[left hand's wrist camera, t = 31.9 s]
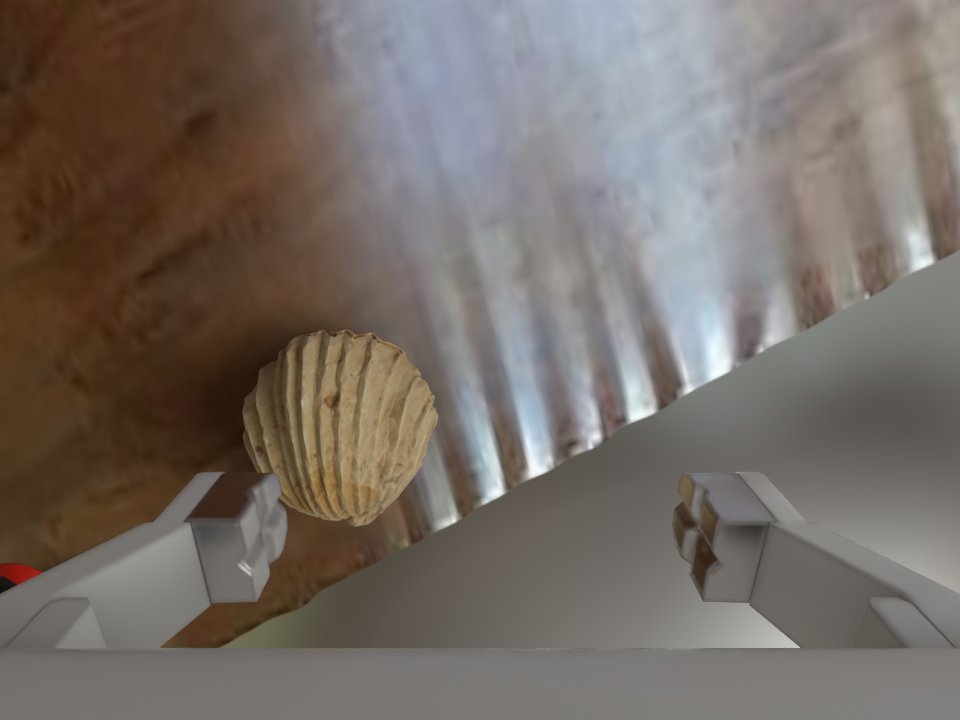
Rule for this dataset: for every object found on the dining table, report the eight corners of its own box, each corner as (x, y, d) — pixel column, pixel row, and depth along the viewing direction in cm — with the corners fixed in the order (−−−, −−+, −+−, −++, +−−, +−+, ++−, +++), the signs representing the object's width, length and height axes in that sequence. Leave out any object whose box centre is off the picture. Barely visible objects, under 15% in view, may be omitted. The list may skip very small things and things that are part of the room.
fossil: (303, 479, 52) (238, 597, 38) (257, 314, 46) (159, 384, 32) (452, 465, 52) (442, 580, 38) (426, 296, 45) (402, 359, 31)
